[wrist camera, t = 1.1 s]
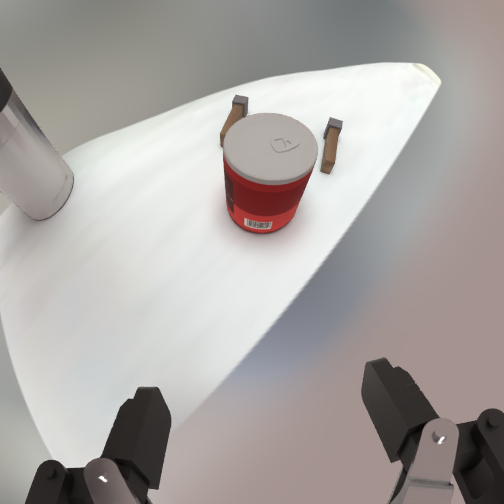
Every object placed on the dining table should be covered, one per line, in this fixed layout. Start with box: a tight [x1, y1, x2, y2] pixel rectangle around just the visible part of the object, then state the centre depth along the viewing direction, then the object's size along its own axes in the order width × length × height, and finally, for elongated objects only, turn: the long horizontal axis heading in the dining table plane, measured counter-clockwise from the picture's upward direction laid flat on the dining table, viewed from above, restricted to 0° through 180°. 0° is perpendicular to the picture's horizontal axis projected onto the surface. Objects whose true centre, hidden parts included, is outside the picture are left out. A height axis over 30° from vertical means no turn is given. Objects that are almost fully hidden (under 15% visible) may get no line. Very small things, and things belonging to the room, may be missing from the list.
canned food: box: [223, 113, 318, 233], centre depth 27 cm, size 8×8×11 cm
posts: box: [232, 95, 343, 139], centre depth 35 cm, size 15×2×3 cm, turn 75°
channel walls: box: [220, 104, 339, 174], centre depth 34 cm, size 14×6×2 cm, turn 75°
